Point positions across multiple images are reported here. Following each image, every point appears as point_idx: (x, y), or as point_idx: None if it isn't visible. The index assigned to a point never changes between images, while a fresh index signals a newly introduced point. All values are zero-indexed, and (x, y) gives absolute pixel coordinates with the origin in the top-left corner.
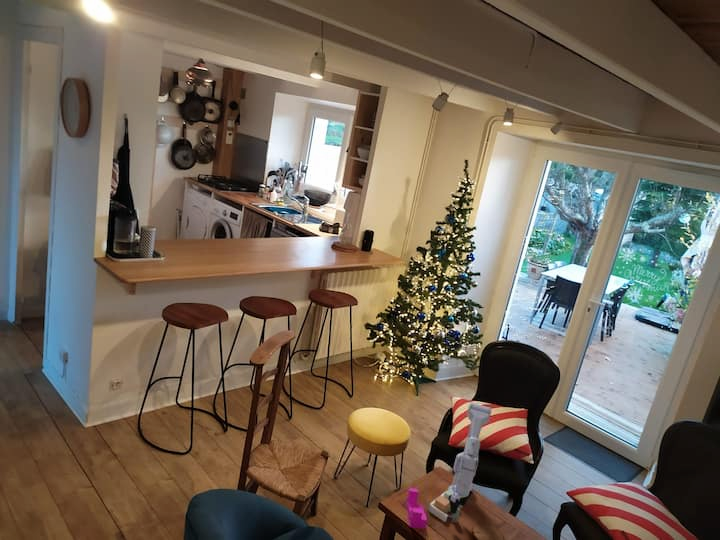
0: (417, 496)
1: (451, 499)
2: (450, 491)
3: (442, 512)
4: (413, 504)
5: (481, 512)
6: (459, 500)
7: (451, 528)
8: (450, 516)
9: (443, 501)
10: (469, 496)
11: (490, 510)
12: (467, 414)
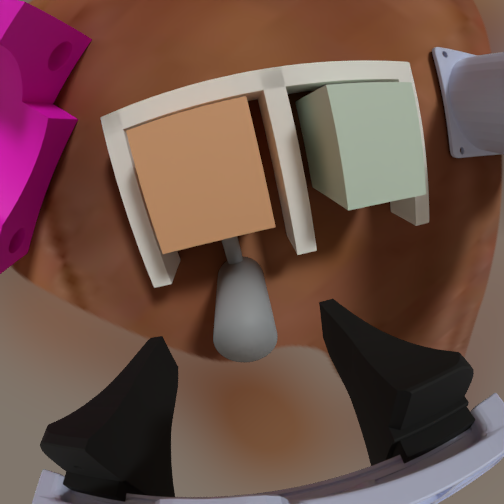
0: (14, 59)
1: (46, 486)
2: (399, 113)
3: (146, 244)
4: (5, 97)
5: (436, 288)
6: (331, 317)
7: (171, 315)
8: (229, 255)
9: (192, 193)
10: (369, 455)
11: (470, 292)
12: None
